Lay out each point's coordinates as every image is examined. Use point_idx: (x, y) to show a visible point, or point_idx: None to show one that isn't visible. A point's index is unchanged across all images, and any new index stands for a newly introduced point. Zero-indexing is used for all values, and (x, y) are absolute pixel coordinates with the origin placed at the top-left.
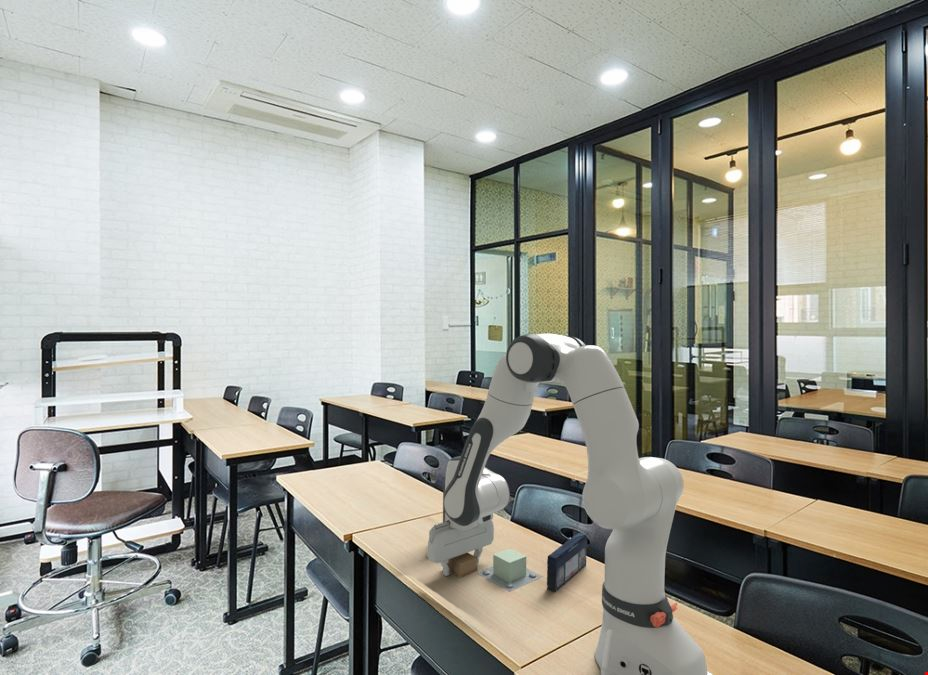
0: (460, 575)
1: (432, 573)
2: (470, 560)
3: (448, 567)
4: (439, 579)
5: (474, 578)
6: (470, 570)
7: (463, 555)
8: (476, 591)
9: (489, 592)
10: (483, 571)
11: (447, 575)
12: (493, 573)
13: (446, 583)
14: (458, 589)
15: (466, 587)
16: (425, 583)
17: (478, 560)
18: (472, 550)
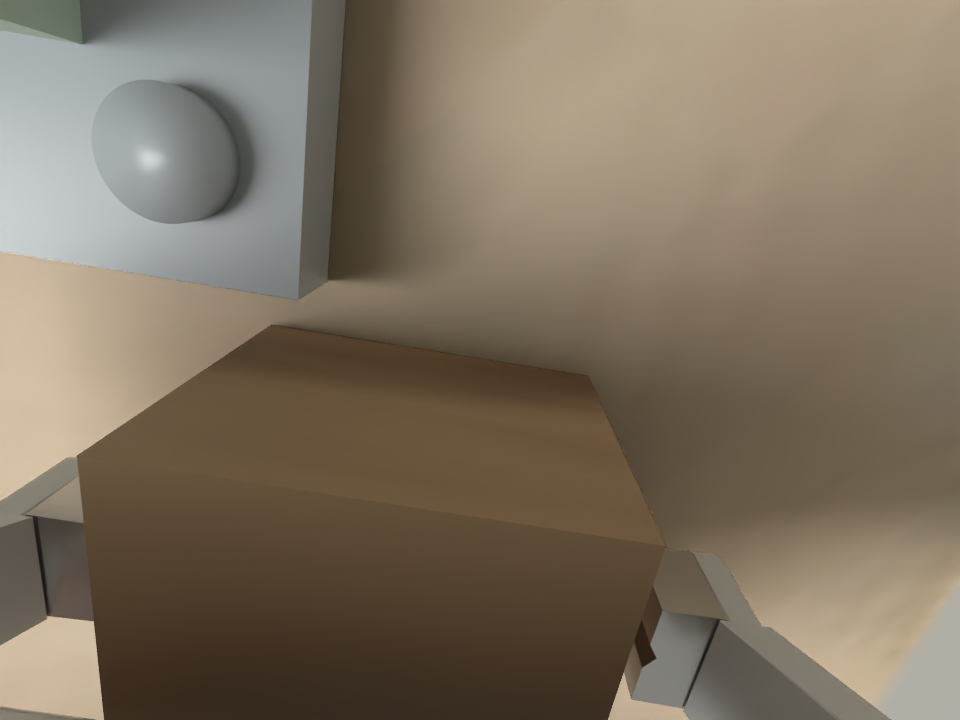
0: (589, 416)
1: None
2: (316, 488)
3: (681, 650)
4: None
5: (346, 310)
6: (367, 390)
7: (272, 717)
8: (627, 19)
9: None
10: (198, 212)
11: (690, 554)
12: (75, 34)
13: (695, 486)
14: (737, 277)
15: (622, 228)
16: (833, 640)
17: (42, 483)
18: (15, 713)
